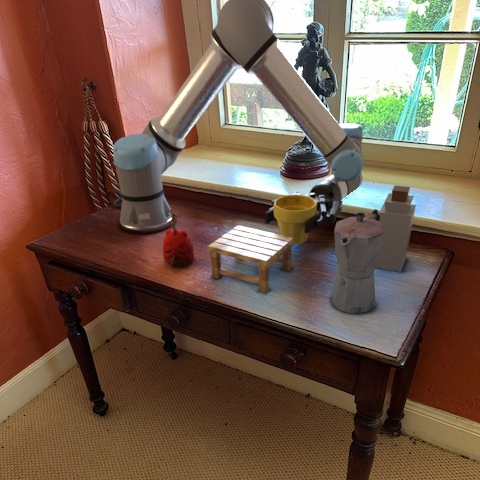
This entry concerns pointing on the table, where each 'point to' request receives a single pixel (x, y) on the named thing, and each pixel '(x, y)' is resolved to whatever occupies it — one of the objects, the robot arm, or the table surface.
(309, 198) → the flower pot
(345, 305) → the moka pot
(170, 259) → the red clay folk toy
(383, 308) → the table surface
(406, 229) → the perfume bottle
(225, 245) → the plant rack
